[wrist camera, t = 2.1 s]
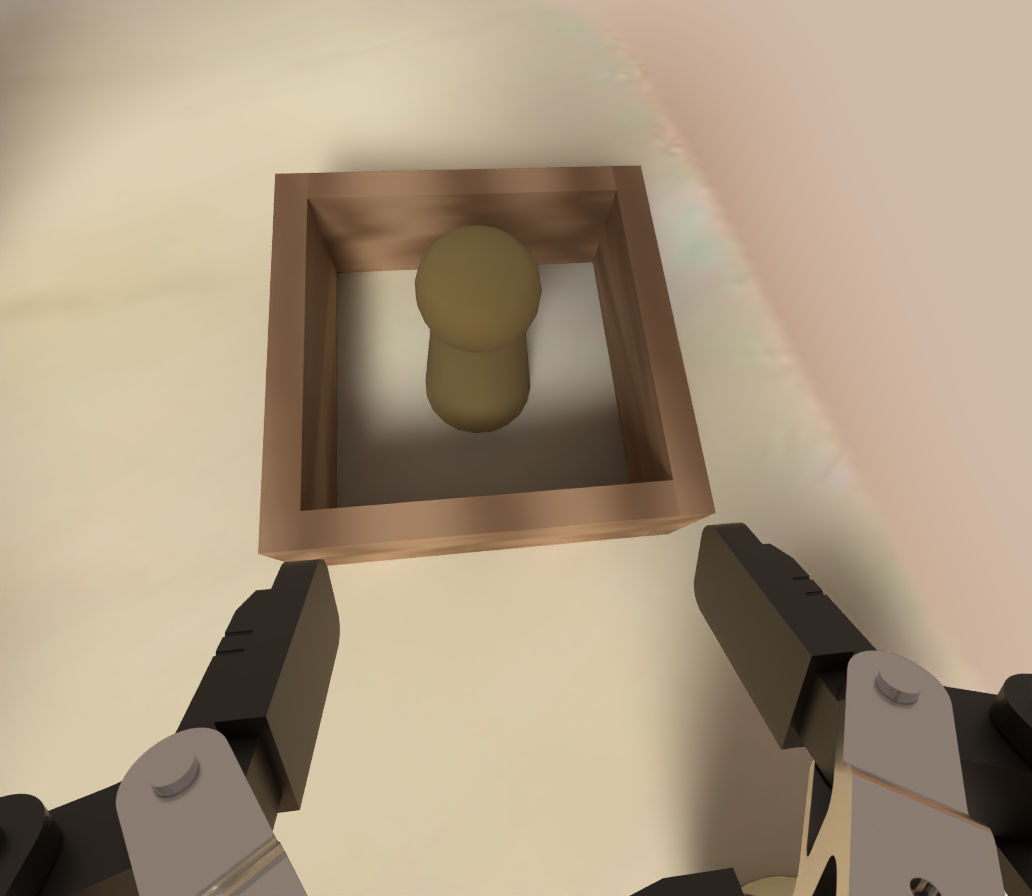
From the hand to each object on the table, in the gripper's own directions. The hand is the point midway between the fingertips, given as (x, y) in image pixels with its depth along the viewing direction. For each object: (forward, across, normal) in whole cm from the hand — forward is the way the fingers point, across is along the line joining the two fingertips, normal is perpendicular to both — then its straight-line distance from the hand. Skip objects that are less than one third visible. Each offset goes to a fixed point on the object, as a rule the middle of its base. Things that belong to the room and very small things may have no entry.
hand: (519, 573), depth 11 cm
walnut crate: (+20, 0, +3) cm, 21 cm away
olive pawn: (+20, 0, +3) cm, 21 cm away
